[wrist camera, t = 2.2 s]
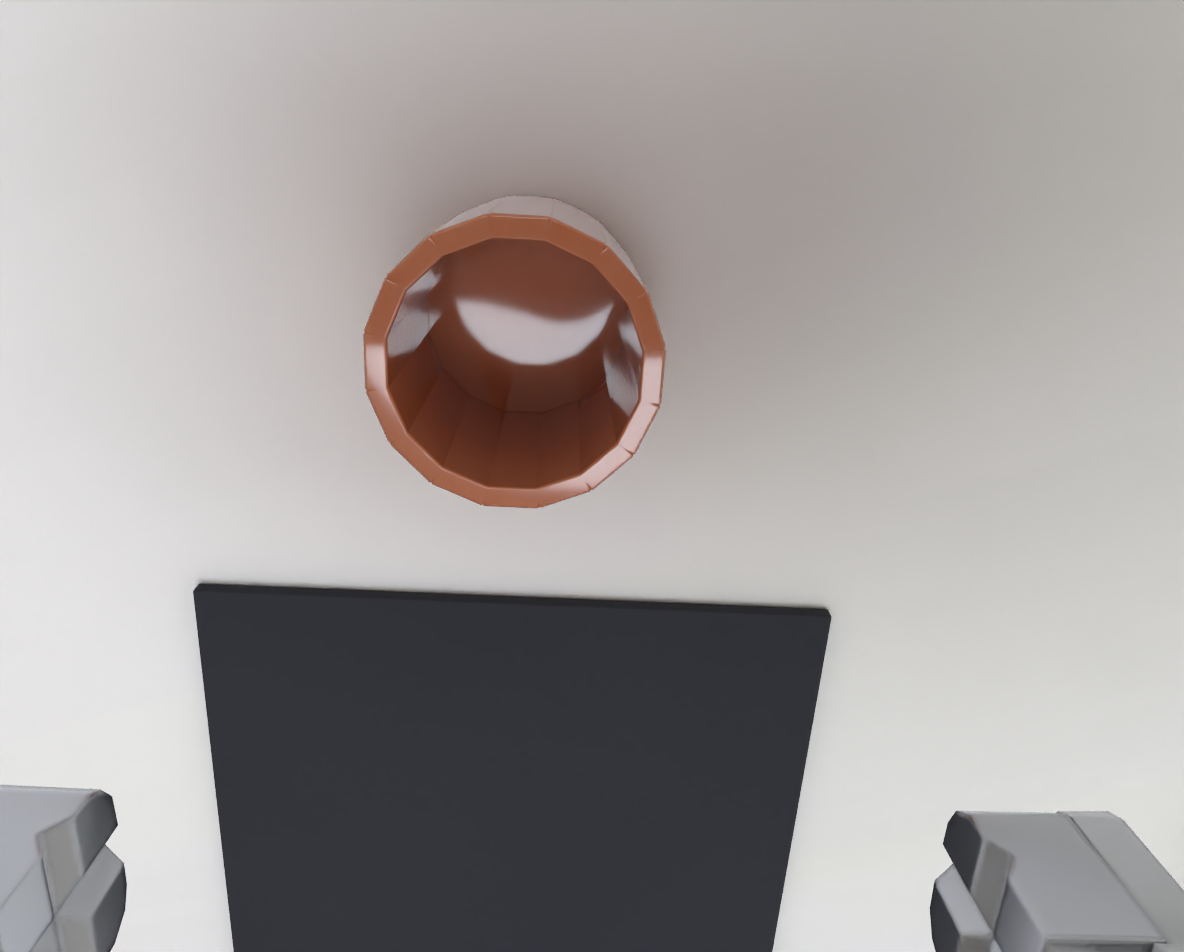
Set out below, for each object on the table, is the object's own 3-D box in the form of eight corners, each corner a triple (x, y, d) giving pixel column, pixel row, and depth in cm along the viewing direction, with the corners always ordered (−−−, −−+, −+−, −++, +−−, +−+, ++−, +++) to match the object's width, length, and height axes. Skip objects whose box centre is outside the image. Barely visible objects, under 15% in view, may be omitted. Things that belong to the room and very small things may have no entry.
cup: (412, 188, 24) (358, 204, 18) (650, 202, 24) (677, 224, 18) (414, 416, 26) (368, 501, 20) (632, 427, 26) (651, 514, 20)
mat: (198, 583, 28) (192, 590, 27) (827, 608, 29) (832, 616, 28) (248, 1035, 35) (244, 1047, 34) (751, 1045, 36) (753, 1057, 35)
